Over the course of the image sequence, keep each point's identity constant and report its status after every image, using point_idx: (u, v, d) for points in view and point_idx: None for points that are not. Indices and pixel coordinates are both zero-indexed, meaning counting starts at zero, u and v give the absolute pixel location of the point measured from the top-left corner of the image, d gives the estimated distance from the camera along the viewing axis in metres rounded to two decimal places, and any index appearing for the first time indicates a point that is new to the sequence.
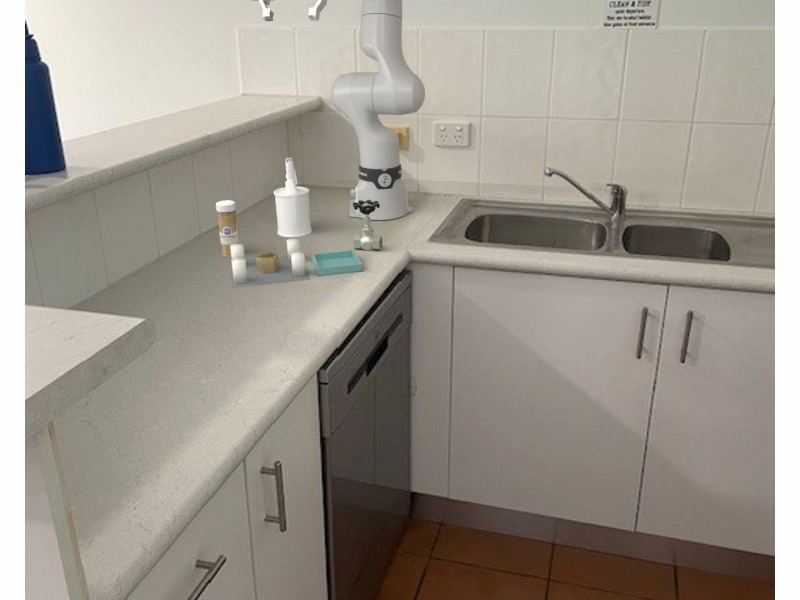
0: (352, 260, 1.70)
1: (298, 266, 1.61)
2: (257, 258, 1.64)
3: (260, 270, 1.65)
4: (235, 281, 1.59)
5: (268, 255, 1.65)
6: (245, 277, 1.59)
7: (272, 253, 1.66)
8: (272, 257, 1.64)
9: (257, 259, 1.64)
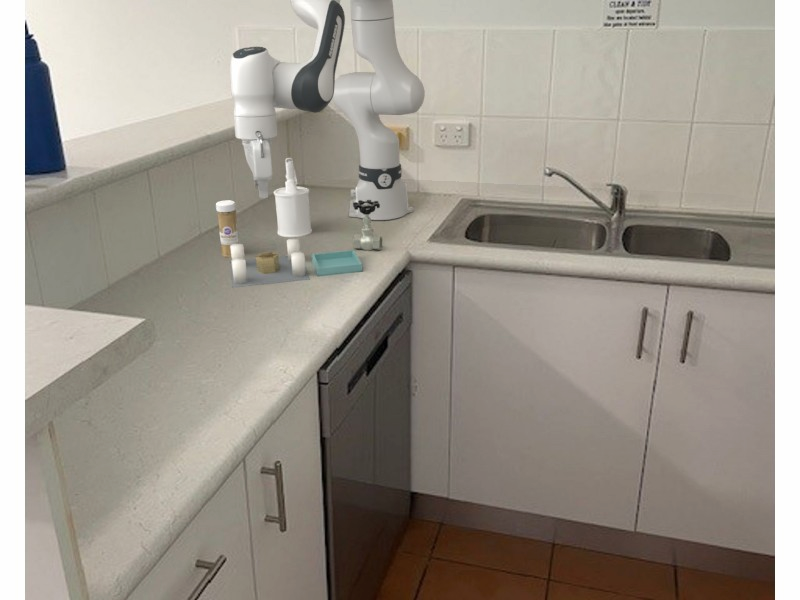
0: (352, 260, 1.70)
1: (298, 266, 1.61)
2: (257, 258, 1.64)
3: (260, 270, 1.65)
4: (235, 281, 1.59)
5: (268, 255, 1.65)
6: (245, 277, 1.59)
7: (272, 253, 1.66)
8: (272, 257, 1.64)
9: (257, 259, 1.64)
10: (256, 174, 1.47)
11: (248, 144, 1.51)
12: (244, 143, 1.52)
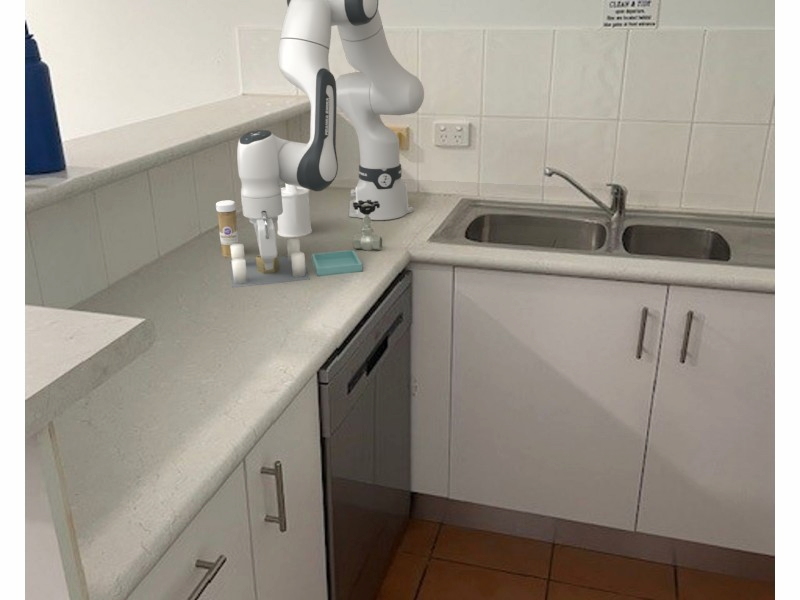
0: (352, 260, 1.70)
1: (298, 266, 1.61)
2: (257, 258, 1.64)
3: (260, 270, 1.65)
4: (235, 281, 1.59)
5: None
6: (245, 277, 1.59)
7: None
8: None
9: (257, 259, 1.64)
10: (261, 254, 1.54)
11: (255, 222, 1.59)
12: (251, 220, 1.60)
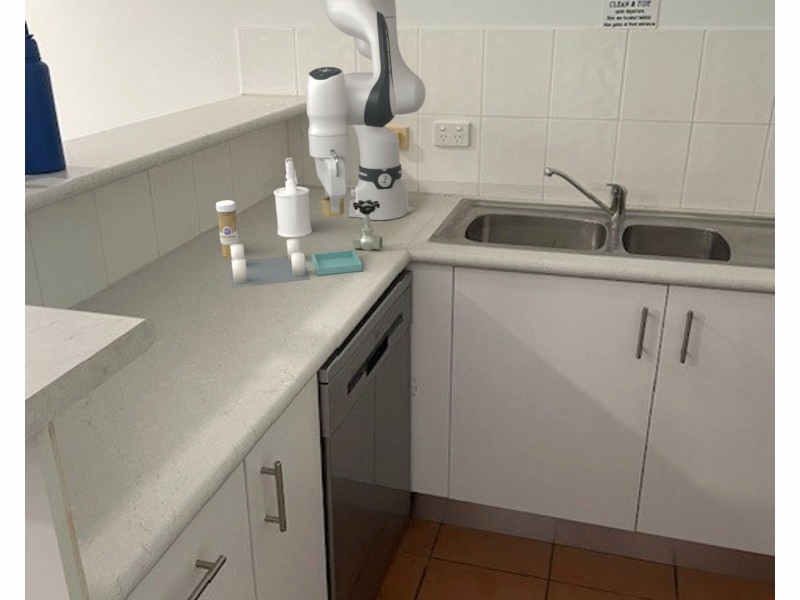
0: (352, 260, 1.70)
1: (298, 266, 1.61)
2: (322, 201, 1.61)
3: (325, 213, 1.61)
4: (235, 281, 1.59)
5: None
6: (245, 277, 1.59)
7: None
8: None
9: (322, 202, 1.61)
10: (331, 192, 1.51)
11: (322, 162, 1.55)
12: (318, 161, 1.56)
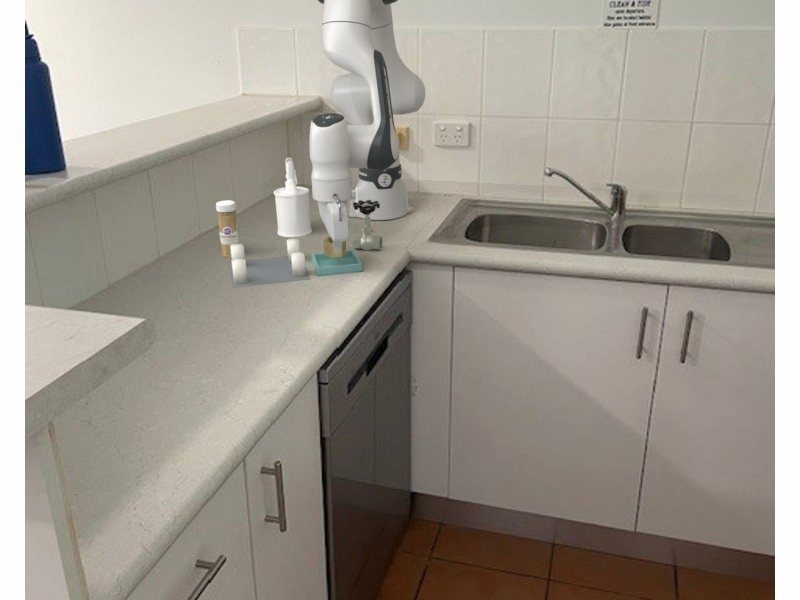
0: (352, 260, 1.70)
1: (298, 266, 1.61)
2: (325, 242, 1.64)
3: (328, 254, 1.65)
4: (235, 281, 1.59)
5: None
6: (245, 277, 1.59)
7: None
8: None
9: (325, 243, 1.64)
10: (334, 236, 1.54)
11: (325, 205, 1.59)
12: (321, 204, 1.60)
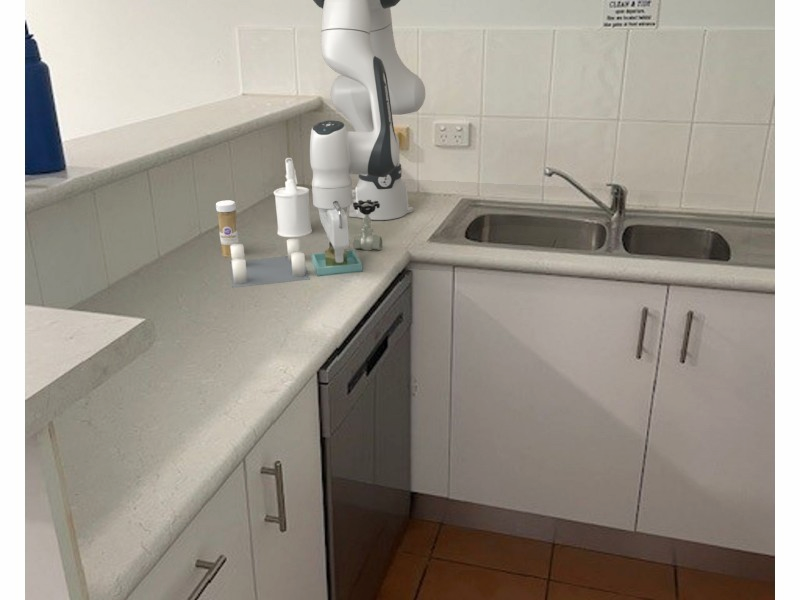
0: (352, 260, 1.70)
1: (298, 266, 1.61)
2: (326, 253, 1.66)
3: (329, 265, 1.66)
4: (235, 281, 1.59)
5: None
6: (245, 277, 1.59)
7: None
8: None
9: (326, 254, 1.66)
10: (334, 243, 1.55)
11: (325, 212, 1.60)
12: (321, 211, 1.61)
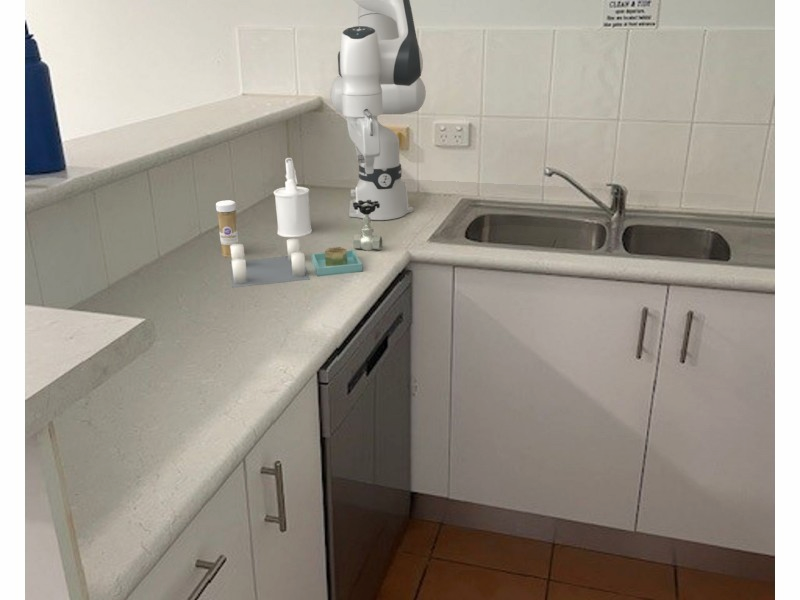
0: (352, 260, 1.70)
1: (298, 266, 1.61)
2: (326, 253, 1.66)
3: (329, 265, 1.66)
4: (235, 281, 1.59)
5: (336, 250, 1.66)
6: (245, 277, 1.59)
7: (340, 248, 1.67)
8: (341, 252, 1.65)
9: (326, 254, 1.66)
10: (365, 151, 1.53)
11: (355, 121, 1.58)
12: (351, 120, 1.58)
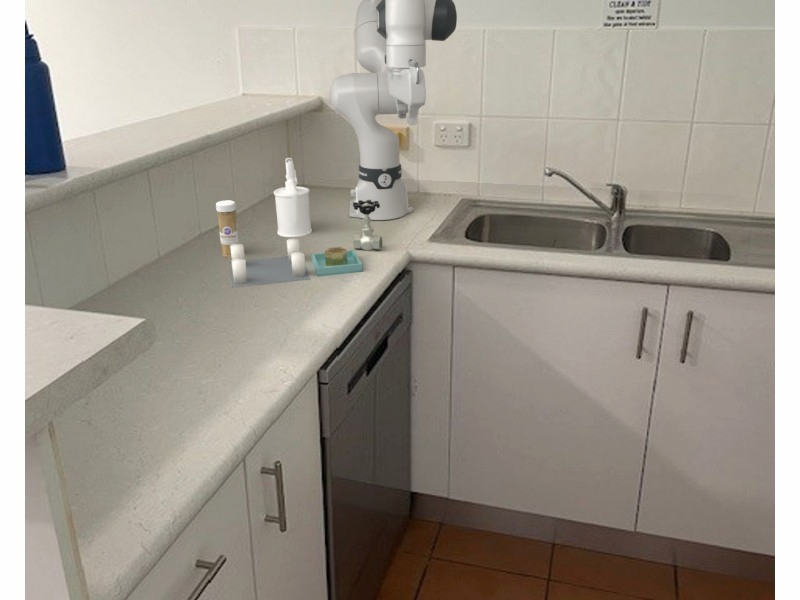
0: (352, 260, 1.70)
1: (298, 266, 1.61)
2: (326, 253, 1.66)
3: (329, 265, 1.66)
4: (235, 281, 1.59)
5: (336, 250, 1.66)
6: (245, 277, 1.59)
7: (340, 248, 1.67)
8: (341, 252, 1.65)
9: (326, 254, 1.66)
10: (411, 100, 1.55)
11: (400, 73, 1.60)
12: (395, 72, 1.61)
